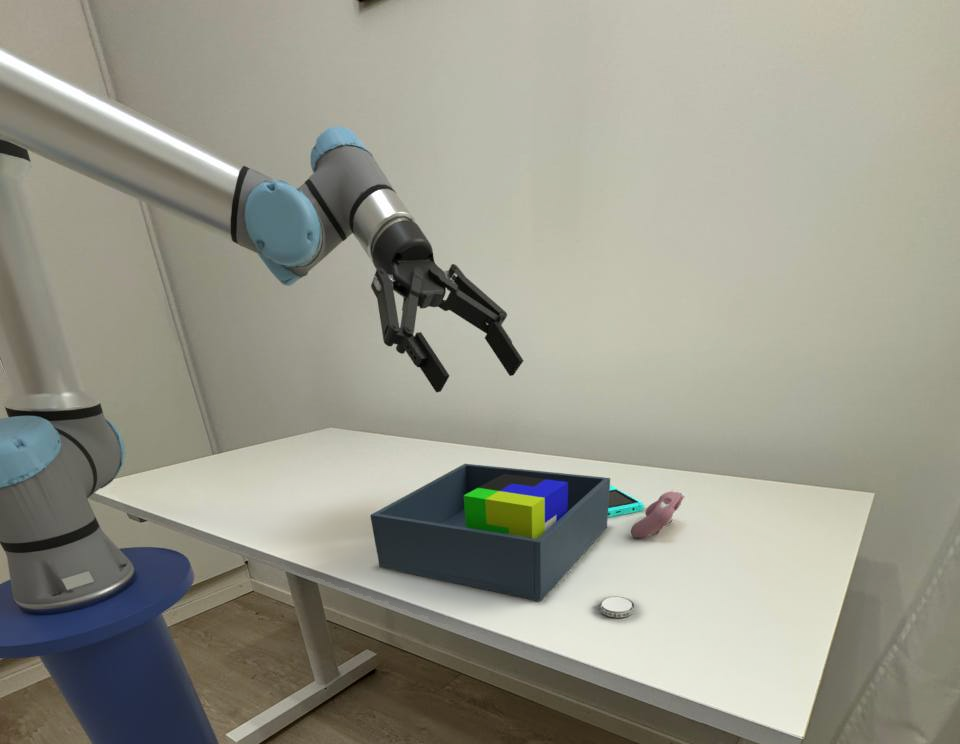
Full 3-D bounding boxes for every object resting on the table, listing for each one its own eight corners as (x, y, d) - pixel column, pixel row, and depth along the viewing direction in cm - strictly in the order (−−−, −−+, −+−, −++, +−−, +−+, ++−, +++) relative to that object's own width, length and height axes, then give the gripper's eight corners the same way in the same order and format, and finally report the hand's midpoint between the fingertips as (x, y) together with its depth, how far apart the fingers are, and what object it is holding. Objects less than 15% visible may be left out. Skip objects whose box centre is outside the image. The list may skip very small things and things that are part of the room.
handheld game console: (599, 483, 106) (599, 476, 105) (645, 510, 93) (646, 502, 92) (550, 492, 103) (551, 485, 102) (592, 520, 90) (592, 512, 90)
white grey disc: (628, 599, 68) (628, 595, 68) (637, 616, 65) (638, 611, 64) (596, 601, 68) (596, 597, 68) (603, 618, 65) (604, 614, 64)
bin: (379, 567, 80) (370, 514, 76) (468, 508, 99) (464, 463, 94) (540, 601, 69) (540, 542, 65) (607, 528, 87) (610, 477, 83)
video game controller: (652, 551, 83) (679, 514, 78) (626, 534, 83) (651, 496, 79) (668, 527, 90) (694, 492, 85) (644, 512, 91) (668, 476, 86)
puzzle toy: (566, 551, 79) (568, 482, 73) (532, 580, 72) (531, 506, 66) (506, 539, 84) (503, 473, 78) (469, 565, 77) (463, 495, 71)
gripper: (452, 266, 83) (529, 381, 82) (305, 273, 69) (396, 413, 68) (474, 217, 77) (558, 342, 76) (318, 215, 63) (418, 368, 62)
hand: (481, 376), depth 72 cm, fingers open, 13 cm apart
